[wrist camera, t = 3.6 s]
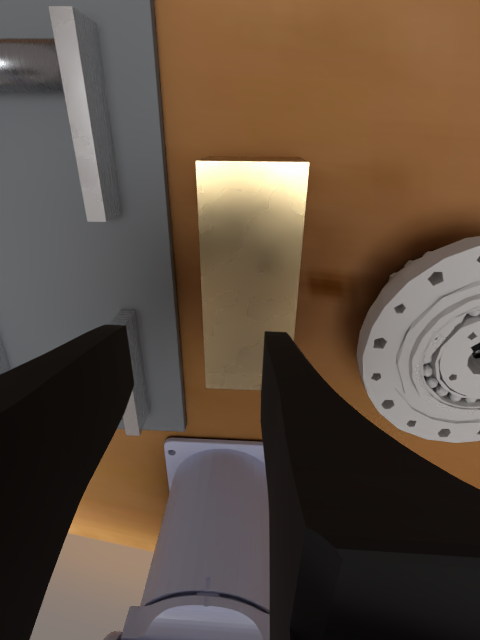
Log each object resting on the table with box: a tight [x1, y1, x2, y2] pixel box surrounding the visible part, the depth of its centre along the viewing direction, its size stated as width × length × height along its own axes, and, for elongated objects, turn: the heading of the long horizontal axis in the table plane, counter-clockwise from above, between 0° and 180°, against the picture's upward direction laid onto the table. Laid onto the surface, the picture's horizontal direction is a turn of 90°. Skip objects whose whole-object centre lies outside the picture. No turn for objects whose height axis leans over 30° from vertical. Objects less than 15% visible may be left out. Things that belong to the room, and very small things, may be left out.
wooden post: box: [196, 156, 309, 390], centre depth 17 cm, size 10×4×4 cm, turn 0°
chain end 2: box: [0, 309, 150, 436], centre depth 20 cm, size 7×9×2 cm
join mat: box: [0, 0, 186, 432], centre depth 18 cm, size 22×13×1 cm, turn 179°
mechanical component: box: [356, 236, 480, 443], centre depth 17 cm, size 10×4×10 cm
